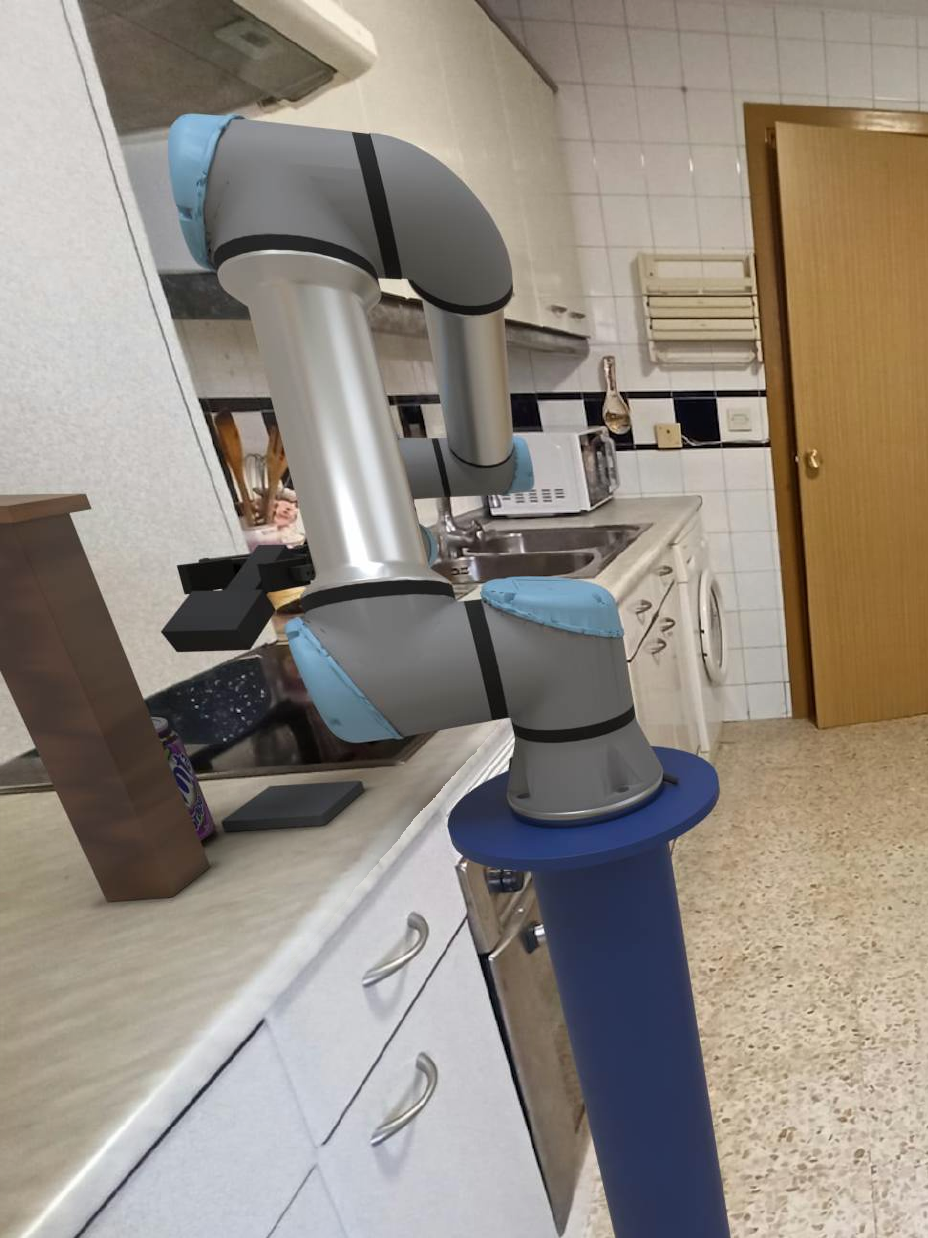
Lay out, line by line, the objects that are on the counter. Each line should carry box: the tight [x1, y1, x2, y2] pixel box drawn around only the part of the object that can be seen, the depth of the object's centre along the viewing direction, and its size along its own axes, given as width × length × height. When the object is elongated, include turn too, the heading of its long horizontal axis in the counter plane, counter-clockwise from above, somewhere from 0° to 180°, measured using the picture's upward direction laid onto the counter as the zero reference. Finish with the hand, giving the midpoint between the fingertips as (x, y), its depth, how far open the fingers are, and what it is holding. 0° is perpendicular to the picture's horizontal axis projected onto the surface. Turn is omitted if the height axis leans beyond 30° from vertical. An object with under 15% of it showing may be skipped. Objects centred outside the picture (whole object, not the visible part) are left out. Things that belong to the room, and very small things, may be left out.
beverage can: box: [151, 716, 216, 842], centre depth 79 cm, size 7×7×12 cm
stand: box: [0, 493, 212, 903], centre depth 69 cm, size 6×7×33 cm
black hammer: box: [160, 544, 293, 653], centre depth 82 cm, size 6×15×2 cm, turn 10°
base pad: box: [220, 780, 365, 833], centre depth 88 cm, size 9×8×1 cm
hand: (225, 578), depth 80 cm, fingers closed on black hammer, 6 cm apart
